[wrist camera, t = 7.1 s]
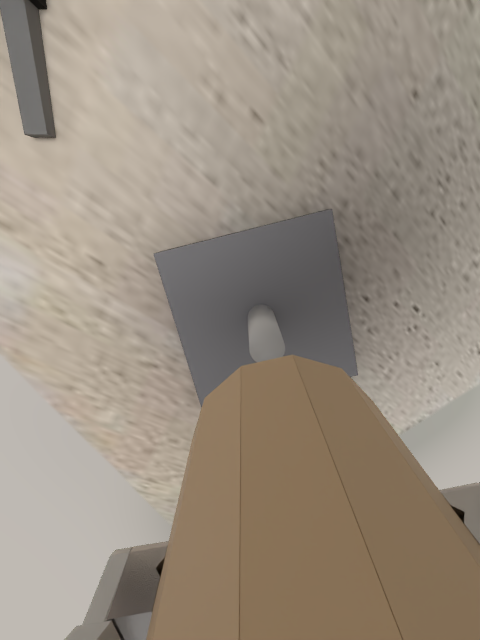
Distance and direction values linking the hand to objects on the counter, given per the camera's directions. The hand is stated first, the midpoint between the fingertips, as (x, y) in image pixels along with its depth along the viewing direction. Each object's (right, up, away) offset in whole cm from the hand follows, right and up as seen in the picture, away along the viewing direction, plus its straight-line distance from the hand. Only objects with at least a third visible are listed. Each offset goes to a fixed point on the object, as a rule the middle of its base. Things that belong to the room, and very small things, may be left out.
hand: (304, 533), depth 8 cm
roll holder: (0, +6, +20) cm, 21 cm away
